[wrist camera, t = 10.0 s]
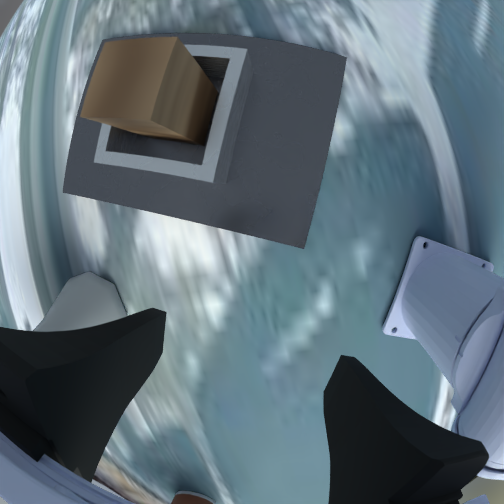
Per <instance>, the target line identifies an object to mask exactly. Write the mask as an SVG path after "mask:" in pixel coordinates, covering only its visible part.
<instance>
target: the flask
mask: <svg viewBox="0 0 504 504" xmlns="http://www.w3.org/2000/svg"><path fill="white" fill-rule="evenodd" d="M126 316H127V314H126V311H125V309H124V307H123V304H122V302H121V299H120V297H119V295H118V292H117V290H116V287H115V284H113V283H111V282H109V281H107V280H105V279H103V278H101V277H99V276H97V275H95V274H93V273H92V272H90V271H89V272H86V273H83V274H80V275H77V276H74V277H72V278H70V279H69V280H68V281H67V283H66V284H65V286H64V287H63V289H62V291H61V292H60V294H59V295H58V297H57V299H56V300H55V302H54V303H53V305H52V306H51V308H50V309H49V311H48V312H47V314H46V316H45V317H44V319H43V320H42V321H41V322H40V324H39V325H38V326H37V327H36V328H35V329H34V330H33V331H39V332H51V331H66V330H75V329H81V328H87V327H92V326H96V325H100V324H103V323H107V322H111V321H114V320H117V319H120V318H123V317H126Z"/></svg>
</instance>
